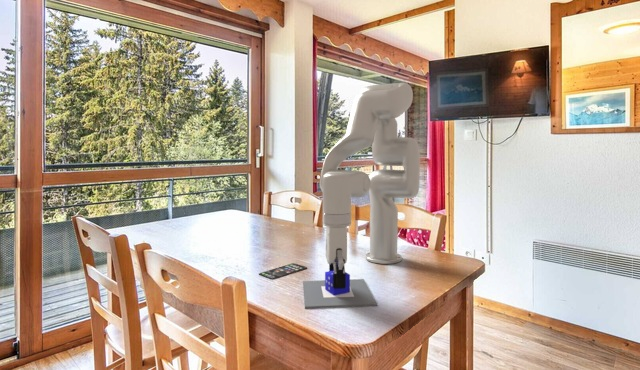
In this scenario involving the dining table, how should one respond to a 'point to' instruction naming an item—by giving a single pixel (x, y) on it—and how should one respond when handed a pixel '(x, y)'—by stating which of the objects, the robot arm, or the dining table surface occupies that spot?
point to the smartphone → (282, 271)
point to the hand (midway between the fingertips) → (337, 281)
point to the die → (330, 284)
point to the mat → (323, 299)
